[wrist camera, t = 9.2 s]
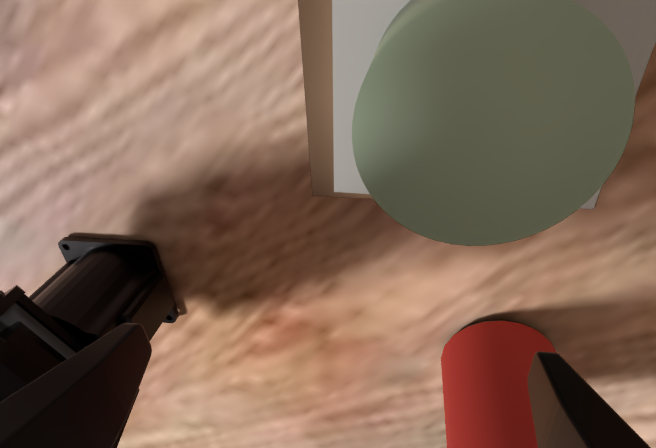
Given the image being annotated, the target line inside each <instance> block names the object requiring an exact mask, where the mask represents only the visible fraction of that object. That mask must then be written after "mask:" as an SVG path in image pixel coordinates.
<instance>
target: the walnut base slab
mask: <svg viewBox="0 0 656 448" xmlns="http://www.w3.org/2000/svg"><path fill="white" fill-rule="evenodd" d="M298 7H299V21H300V34H301V48H302V61H303V75H304V88H305V102H306V115H307V129H308V142H309V156H310V169H311V183H312V196H325V197H348V198H372V199H373V197H372V196H371V195H370V194H359V193H344V192H334V147H333V37H332V0H298ZM600 191H601V190H600ZM599 194H600V193H599ZM598 197H599V196H598ZM597 200H598V199H597ZM596 203H597V201H596ZM595 206H596V204H595ZM594 208H595V207H594Z"/></svg>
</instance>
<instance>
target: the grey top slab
mask: <svg viewBox="0 0 656 448" xmlns="http://www.w3.org/2000/svg"><path fill="white" fill-rule="evenodd" d="M410 1H411V0H332V37H333V147H334V192H344V193H359V194H370V193H369V192H368V190H367V188H366V187H365V185H364V183H363V181H362V179H361V176H360V174H359V171H358V169H357V166H356V162H355V158H354V154H353V145H352V120H353V114H354V108H355V104H356V100H357V97H358V94H359V91H360V88H361V85H362V83H363V81H364V78H365V76H366V74H367V71H368V69H369V67H370V64H371V62H372V60H373V57H374V55H375V52H376V50H377V48H378V45H379V43H380V41H381V39H382V37H383V34H384V33H385V31H386V29H387V28H388V26H389V24H390V23H391V21H392V20H393V19H394V18H395V16H396V15H397V14H398V12H399V11H400V10H401V9H402V8H403V7H404V6H405V5H406V4H407V3H408V2H410ZM571 1H573V2H575V3H577V4H579V5H581V6H583V7H584V8H586V9H587V10H588V11H590V12H591V13H592V14H594V15H595V16H596V17H598V18H599V19H600V20H601V21H602V22H603V23H604V24H605V25H606V26H607V28H608V29H609V30H610V31H611V32H612V33H613V34H614V36H615V38H616V39H617V41H618V42H619V44H620V45H621V47H622V48H623V50H624V53H625V55H626V58H627V60H628V62H629V65H630V68H631V73H632V77H633V81H634V91H635V96H636V94H637V91H638V88H639V86H640V83H641V80H642V78H643V75H644V72H645V70H646V67H647V64H648V61H649V59H650V56H651V53H652V51H653V48H654V45H655V43H656V0H571ZM601 188H602V187H601ZM601 188H600V189H599V190H598V191H597V192H596V193H595V194H594V195H593V196H592V197H591V198H590V199H589V200H588V201H587V202H586V203H585V204H584V205H582V206H581V207H580V208H582V209H594V207H595V204H596V201H597V199H598V196H599V193H600V190H601Z"/></svg>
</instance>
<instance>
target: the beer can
mask: <svg viewBox="0 0 656 448" xmlns="http://www.w3.org/2000/svg"><path fill="white" fill-rule="evenodd" d="M538 351H543V352H555V353H556V351H555V349H554V347H553V345H552V343H551V342H550V341H549V340H548V339H547V338H546V337H544V336H543V335H542V334H541V333H540V332H538V331H537V330H535V329H533V328H530V327H528V326H526V325H523V324H521V323H516V322H510V321H503V320H498V321H484V322H480V323H477V324H474V325H470V326H468V327H466V328H464V329H463V330H461V331H459V332H458V333H456V334H455V335H454V336H453V337H452V338H451V339H450V340H449V341H448V343H447V344H446V345H445V347H444V350H443V353H442V357H441V365H442V380H443V394H444V409H445V424H446V438H447V448H538V446H537V439H536V433H535V427H534V421H533V415H532V409H531V403H530V397H529V391H528V375H529V371H530V368H531V364H532V360H533V357H534V354H535V353H536V352H538Z"/></svg>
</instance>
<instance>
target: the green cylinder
mask: <svg viewBox="0 0 656 448" xmlns="http://www.w3.org/2000/svg"><path fill="white" fill-rule="evenodd" d="M634 109H635V91H634V81H633V77H632V73H631V68H630V65H629V62H628V60H627V58H626V55H625V53H624V50H623V48H622V47H621V45H620V44H619V42H618V41H617V39H616V38H615V36H614V34H613V33H612V32H611V31H610V30H609V29H608V28H607V26H606V25H605V24H604V23H603V22H602V21H601V20H600V19H599V18H598V17H596V16H595V15H594V14H592V13H591V12H590V11H588V10H587V9H586V8H584V7H583V6H581V5H579V4H577V3H575V2H573V1H571V0H411V1H410V2H408V3H407V4H406V5H405V6H404V7H403V8H402V9H401V10H400V11H399V12H398V14H397V15H396V16H395V18H394V19H393V20H392V21H391V23H390V24H389V26H388V28H387V29H386V31H385V33H384V34H383V37H382V39H381V41H380V43H379V45H378V48H377V50H376V52H375V55H374V57H373V60H372V62H371V64H370V67H369V69H368V71H367V74H366V76H365V78H364V81H363V83H362V85H361V88H360V91H359V94H358V97H357V100H356V104H355V108H354V114H353V120H352V145H353V154H354V158H355V162H356V166H357V169H358V171H359V174H360V176H361V179H362V181H363V183H364V185H365V187H366V188H367V190H368V192H369V193H370V195H371V196H372V197H373V199H374V200H375V201H376V203H377V204H378V205H379V206H380V207H381V208H382V209H383V210H384V211H385V212H386V213H387V214H388V215H389V216H390V217H391V218H393V219H394V220H395V221H397V222H398V223H399V224H401V225H402V226H404V227H406V228H407V229H409V230H411V231H413V232H415V233H417V234H419V235H422V236H424V237H427V238H430V239H433V240H436V241H440V242H444V243H449V244H455V245H465V246H485V245H495V244H502V243H507V242H511V241H516V240H519V239H522V238H525V237H529V236H532V235H534V234H536V233H539V232H541V231H543V230H546V229H548V228H550V227H551V226H553V225H555V224H557V223H559V222H560V221H562V220H564V219H565V218H567V217H568V216H569V215H571V214H572V213H574V212H575V211H577V210H578V209H579V208H580V207H581V206H582V205H584V204H585V203H586V202H587V201H588V200H589V199H590V198H591V197H592V196H593V195H594V194H595V193H596V192H597V191H598V190H599V189H600V188H601V187H602V185H603V184H604V183H605V181H606V180H607V179H608V177H609V176H610V175H611V173H612V172H613V170H614V169H615V167H616V165H617V163H618V162H619V160H620V158H621V156H622V154H623V152H624V149H625V147H626V144H627V142H628V139H629V136H630V132H631V128H632V124H633V119H634Z"/></svg>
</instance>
